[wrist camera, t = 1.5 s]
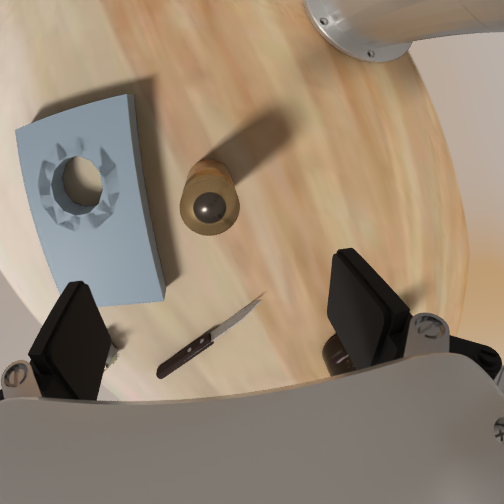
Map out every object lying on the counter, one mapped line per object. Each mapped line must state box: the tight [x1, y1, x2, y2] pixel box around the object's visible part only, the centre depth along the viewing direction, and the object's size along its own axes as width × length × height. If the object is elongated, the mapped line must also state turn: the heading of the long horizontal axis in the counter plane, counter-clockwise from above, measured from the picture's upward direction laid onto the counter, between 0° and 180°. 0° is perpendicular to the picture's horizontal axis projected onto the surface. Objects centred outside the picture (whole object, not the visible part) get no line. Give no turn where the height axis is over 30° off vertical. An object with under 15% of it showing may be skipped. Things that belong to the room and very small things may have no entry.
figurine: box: [103, 343, 119, 373], centre depth 31 cm, size 5×4×6 cm
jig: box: [15, 94, 166, 307], centre depth 24 cm, size 20×12×2 cm, turn 3°
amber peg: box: [180, 159, 240, 236], centre depth 22 cm, size 4×4×8 cm
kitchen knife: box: [156, 299, 262, 379], centre depth 34 cm, size 18×1×2 cm, turn 130°
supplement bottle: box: [322, 334, 356, 377], centre depth 34 cm, size 7×7×12 cm
